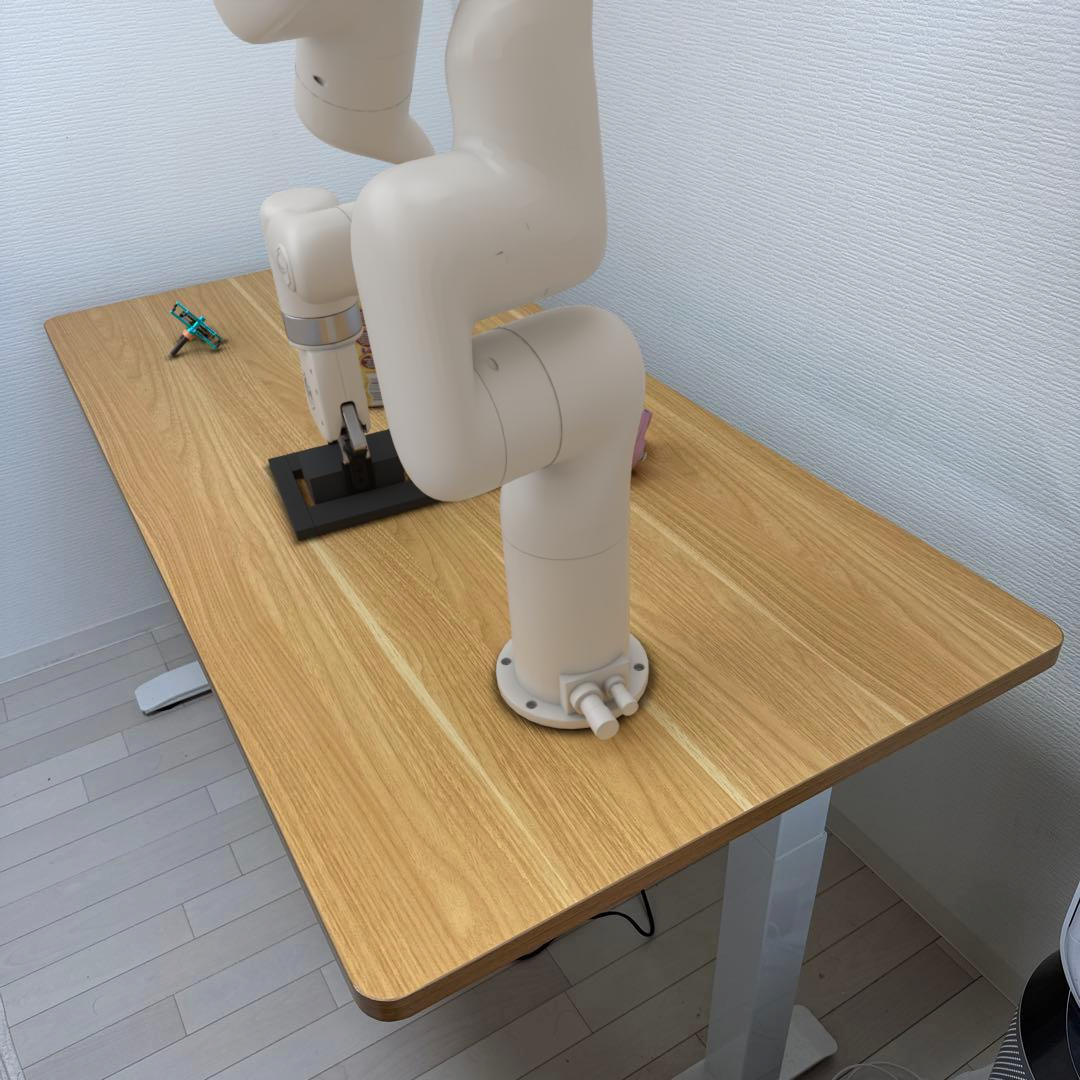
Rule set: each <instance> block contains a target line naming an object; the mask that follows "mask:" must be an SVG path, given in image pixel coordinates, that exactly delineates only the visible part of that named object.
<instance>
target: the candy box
mask: <svg viewBox="0 0 1080 1080" xmlns="http://www.w3.org/2000/svg"><path fill="white" fill-rule="evenodd" d="M357 298H358V303H359V308H360V314H361V320H362V325H363V334H362V335H361V336H360V337H359V338H358V339H357V340H355V345H356V349H357V354H358V359H359V361H360V368H361V373H362V377H363V382H364V387H365V393H366V398H367V403H368V408H372V407H384V405H383V400H382V396H381V391H380V387H379V382H378V378H377V373H376V369H375V364H374V360H373V355H372V351H371V346H370V342H369V338H368V333H367V329H366V324H365V320H364V315H363V311H362V306H361V302H360V297H359V294H357Z"/></svg>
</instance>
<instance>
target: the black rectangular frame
mask: <svg viewBox="0 0 1080 1080" xmlns="http://www.w3.org/2000/svg"><path fill="white" fill-rule="evenodd" d="M384 431H387V433H388V435H389V436H390V438H391V439H392V436H391V433H390V430H389V428H387V429H383V430H379V431H375V432H371V433H367V434H365V436H368V435H372V434H376V433H380V432H384ZM392 441H393V440H392ZM325 446H328V443H326V444H323V445H319V446H315V447H311V448H307V449H302V450H299V451H295V452H290V453H286V454H283V455H279V456H275V457H270V458H268V459H267V461H268V466H269V469H270V471H271V474H272V477H273V479H274V482H275V484H276V487H277V489H278V493H279V495H280V497H281V500H282V503H283V505H284V509H285V511H286V513H287V517H288V519H289V521H290V524H291V526H292V529H293V532H294V535H295V537H296V539H297V541H302V540H306V539H311V538H313V537H317V536H321V535H325V534H328V533H332V532H335V531H338V530H339V531H340V530H342V529H346V528H350V527H354V526H357V525H361V524H365V523H368V522H372V521H375V520H379V519H384V518H386V517H387V518H388V517H390V516H393V515H398V514H401V513H404V512H409V511H413V510H415V509H419V508H423V507H426V506H431V505H435V504H438V503H441V502H442V501H441V500H437V499H434V498H432V497H430V496H428V495H426V494H425V493H423V492H422V491H421V490H420V489H419V488H418V487H417V486H416V485H415V484H414V483H413V481H412V480H411V479H408V480H406V481H403V482H400V483H396V484H392V485H388V486H385V487H381V488H377V489H373V490H370V491H366V492H362V493H358V494H355V495H351V496H347V497H343V498H340V499H336V500H332V501H328V502H324V503H321V504H317V505H315V504H313V505H309V506H307V504H306V501H305V499H304V497H303V494H302V492H301V489H300V487H299V485H298V482H297V480H298V479H304V477H303V472H302V468H301V464H300V460H299V456H298V453H301V452H305V451H309V450H313V449H317V448H321V447H325Z"/></svg>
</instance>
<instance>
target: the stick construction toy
mask: <svg viewBox="0 0 1080 1080" xmlns="http://www.w3.org/2000/svg"><path fill="white" fill-rule="evenodd" d="M177 307H179V308H180V309H182V311H181V312H179V314H177V313H176V312H175V311H176V310H177ZM169 314H170V315H172V316H173V317H174V318H176V319H177V320H178V321H179V322H181V323H182V324H183V325H184V326H186V327H185V328H184V329H183V330H182V332H181V333H182V334H181V335H180V336H179V337H178V338H179V339H180V340H179V341H178V342H177V344H176V345H175V346H174V347H173V348H172V350H171V351H170V352H169V354H170V355H171V357H176V356H177V354H178V353H179V352H180V350H182V348H184V346H185V345H186V344H187V343H188V342H189V341H193V339H194V338H195V336H196V335H197V336H198V337H199V338H201V339H202V340H203V341H204V342H205V343H207V345H209V346H210V347H212V348H213V349H214V350H215V351H216V350H217V349H218V348H219V347H220V346H221V344H220V343H221V342H222V341H223V337H221V336H220V335H219V334H218V333H217V332H216V331H214V330H213V329H212V328H211V327H209V326H208V325H207V324H206V323H205V322H206V320H207V319H206V318H205V317H204V316H203V315H201V316H200V317H197V316H196V314H194V313H192V312H191V311H190V310H189V309H187V308H186V307H185V306H184V305H183V304H181V303H180V302H179V301H176V302H175V304H174V305H173V306H172V308H171V310H170V311H169ZM208 332H210V334H211V336H210V335H209V334H208ZM209 338H210V339H212V340H214V339H215V338H217V340H216V344H213V343H212V341H210V340H209Z"/></svg>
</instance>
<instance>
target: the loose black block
mask: <svg viewBox="0 0 1080 1080" xmlns="http://www.w3.org/2000/svg"><path fill="white" fill-rule="evenodd" d="M365 437H366V441H367V445H368V449H369V453H370V455H371V458H372V463H373V469H374V474H375V479H376V485H377V486H376V488H375V489H377V488H381V487H385V486H388V485H392V484H396V483H400V482H403V481H407V480H406V474H405V469H404V467H403V465H402V463H401V461H400V459H399V456H398V454H397V451H396V449H395V446H394V443H393V441H392V439H391V438H390V436H389V435H388V433H387V431H384V432H380V433H376V434H372V435H368V436H365ZM345 445H346V449H347V450H348V447H350V446H351V445H350V440H349V441H345ZM298 456H299V460H300V464H301V468H302V472H303V480H304V482H305V484H306V487H307V489H308V492H309V494H310V496H311V498H312V501H313V503H314V505H317V504H321V503H324V502H328V501H332V500H336V499H340V498H343V497H347V496H351V495H349V494H348V493H347V491H346V487H345V482H344V477H343V472H342V468H341V463H340V462H341V461H343V459H342V455H341V451H340V447H339V444H338V443H337V444H333V445H329V446H325V447H321V448H317V449H313V450H309V451H305V452H301V453H298ZM372 490H373V489H372ZM369 491H370V490H369ZM365 492H366V491H365ZM361 493H362V492H361ZM357 494H358V493H357ZM354 495H355V494H354Z"/></svg>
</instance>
